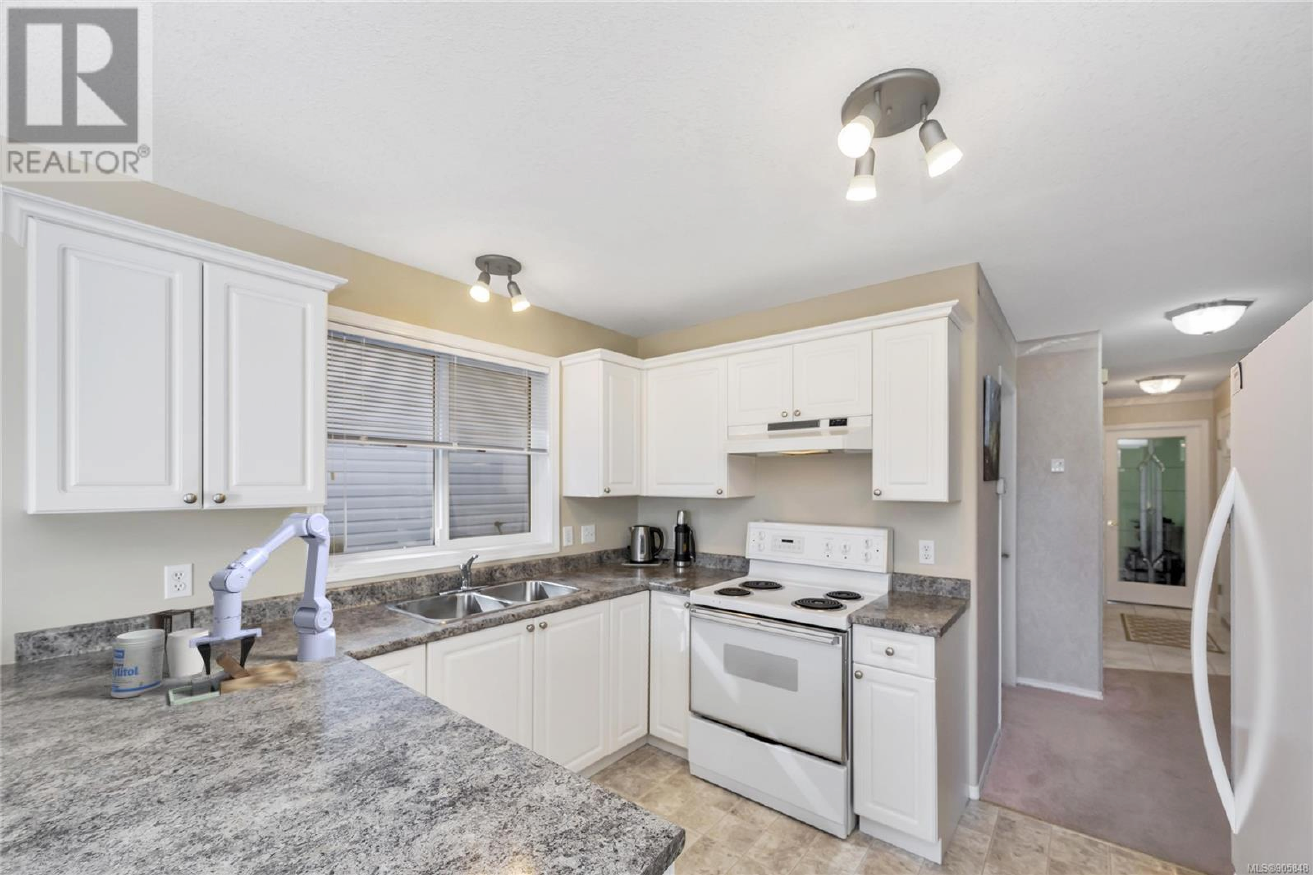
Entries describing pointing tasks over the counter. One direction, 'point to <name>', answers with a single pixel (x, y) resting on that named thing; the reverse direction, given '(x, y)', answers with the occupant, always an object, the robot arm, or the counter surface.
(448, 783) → the counter surface
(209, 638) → the robot arm
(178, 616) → the coffee box
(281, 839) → the counter surface
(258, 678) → the slot board
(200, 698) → the tray
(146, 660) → the supplement tub
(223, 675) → the grey cube
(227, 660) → the brown wooden block
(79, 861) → the counter surface
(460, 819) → the counter surface
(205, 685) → the dark grey cube
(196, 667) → the cup
